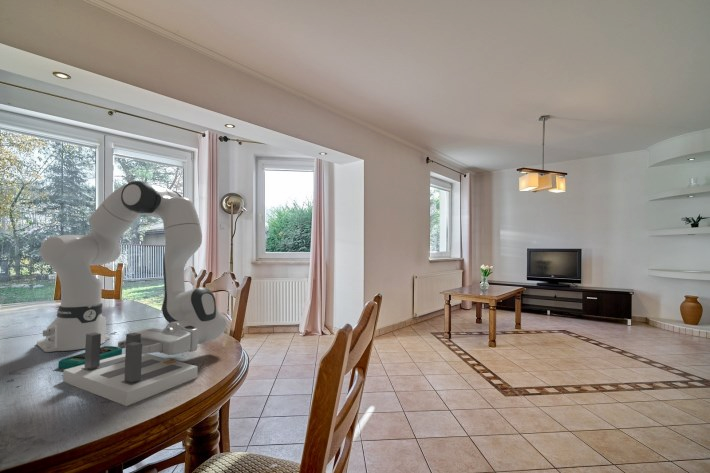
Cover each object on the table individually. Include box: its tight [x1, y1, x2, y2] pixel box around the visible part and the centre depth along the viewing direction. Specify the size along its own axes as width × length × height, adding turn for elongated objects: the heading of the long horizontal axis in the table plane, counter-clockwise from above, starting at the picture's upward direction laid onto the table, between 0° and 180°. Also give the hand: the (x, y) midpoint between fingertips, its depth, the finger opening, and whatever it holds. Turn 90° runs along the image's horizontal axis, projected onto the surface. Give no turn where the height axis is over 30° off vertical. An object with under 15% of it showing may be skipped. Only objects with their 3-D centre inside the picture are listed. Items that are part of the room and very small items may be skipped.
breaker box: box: [62, 353, 199, 407], centre depth 86 cm, size 28×18×3 cm, turn 64°
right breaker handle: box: [125, 342, 142, 382], centre depth 78 cm, size 3×2×9 cm, turn 64°
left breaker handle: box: [84, 333, 102, 369], centre depth 85 cm, size 3×2×9 cm, turn 64°
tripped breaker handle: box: [124, 332, 141, 357], centre depth 86 cm, size 3×2×9 cm, turn 64°
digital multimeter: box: [57, 345, 123, 370], centre depth 99 cm, size 7×15×3 cm, turn 169°
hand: (129, 348), depth 85 cm, fingers open, 8 cm apart
